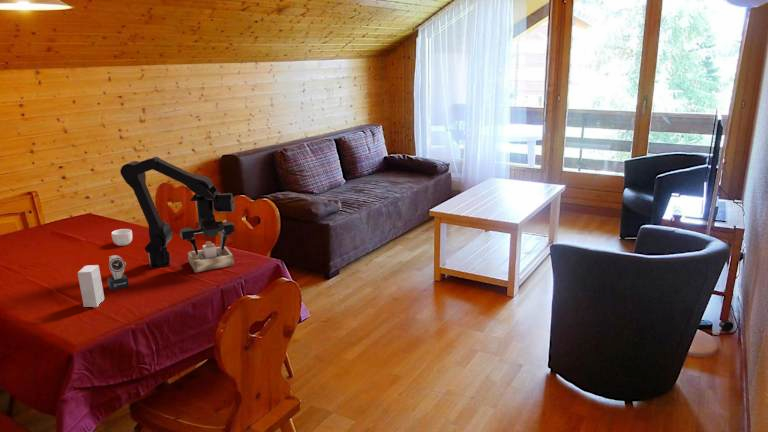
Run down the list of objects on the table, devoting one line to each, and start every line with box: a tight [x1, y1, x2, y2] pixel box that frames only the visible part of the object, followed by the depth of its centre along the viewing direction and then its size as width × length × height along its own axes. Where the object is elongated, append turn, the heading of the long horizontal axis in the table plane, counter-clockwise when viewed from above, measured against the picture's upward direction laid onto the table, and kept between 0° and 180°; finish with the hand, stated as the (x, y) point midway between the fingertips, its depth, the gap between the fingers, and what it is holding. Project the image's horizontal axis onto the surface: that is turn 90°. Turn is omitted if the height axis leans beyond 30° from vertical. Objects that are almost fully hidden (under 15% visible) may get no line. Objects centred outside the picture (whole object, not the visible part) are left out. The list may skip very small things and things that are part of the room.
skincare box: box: [77, 264, 105, 308], centre depth 176 cm, size 6×4×12 cm
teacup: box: [111, 228, 133, 247], centre depth 234 cm, size 10×8×5 cm
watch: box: [106, 254, 130, 291], centre depth 189 cm, size 6×8×11 cm
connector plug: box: [202, 240, 217, 259], centre depth 209 cm, size 4×4×8 cm
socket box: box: [187, 245, 235, 273], centre depth 210 cm, size 14×12×4 cm
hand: (209, 252), depth 209 cm, fingers open, 9 cm apart
